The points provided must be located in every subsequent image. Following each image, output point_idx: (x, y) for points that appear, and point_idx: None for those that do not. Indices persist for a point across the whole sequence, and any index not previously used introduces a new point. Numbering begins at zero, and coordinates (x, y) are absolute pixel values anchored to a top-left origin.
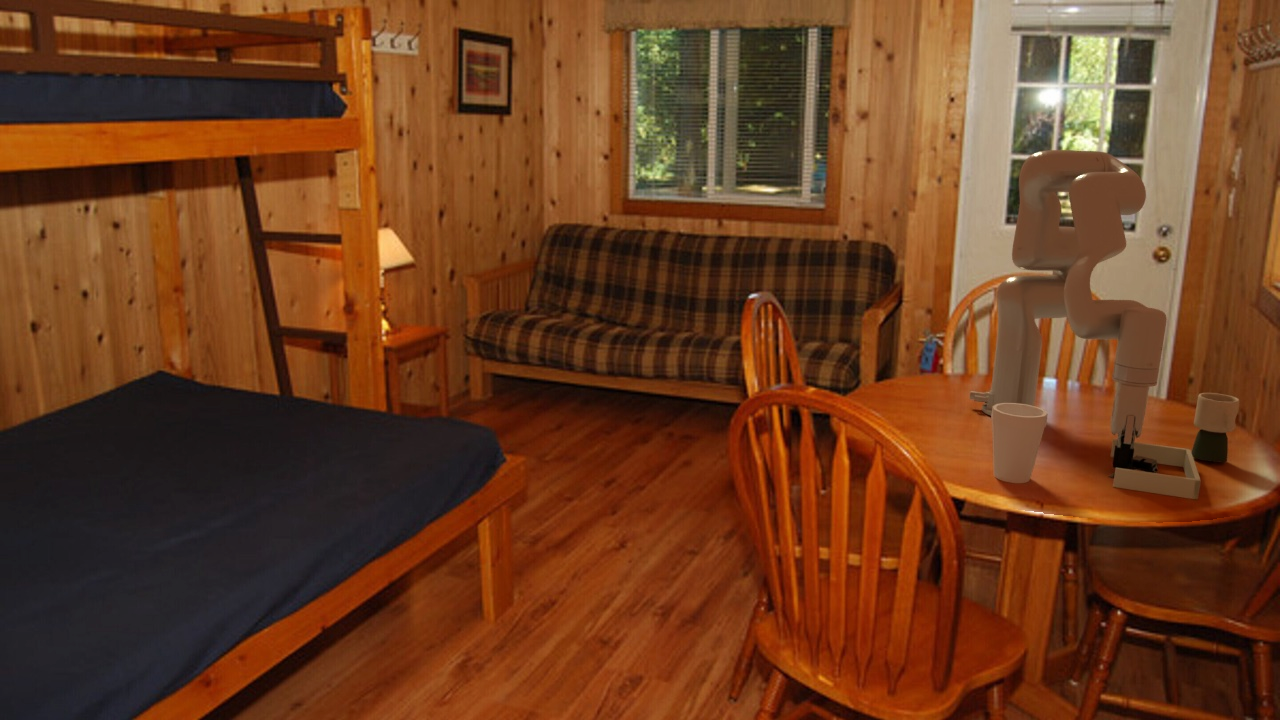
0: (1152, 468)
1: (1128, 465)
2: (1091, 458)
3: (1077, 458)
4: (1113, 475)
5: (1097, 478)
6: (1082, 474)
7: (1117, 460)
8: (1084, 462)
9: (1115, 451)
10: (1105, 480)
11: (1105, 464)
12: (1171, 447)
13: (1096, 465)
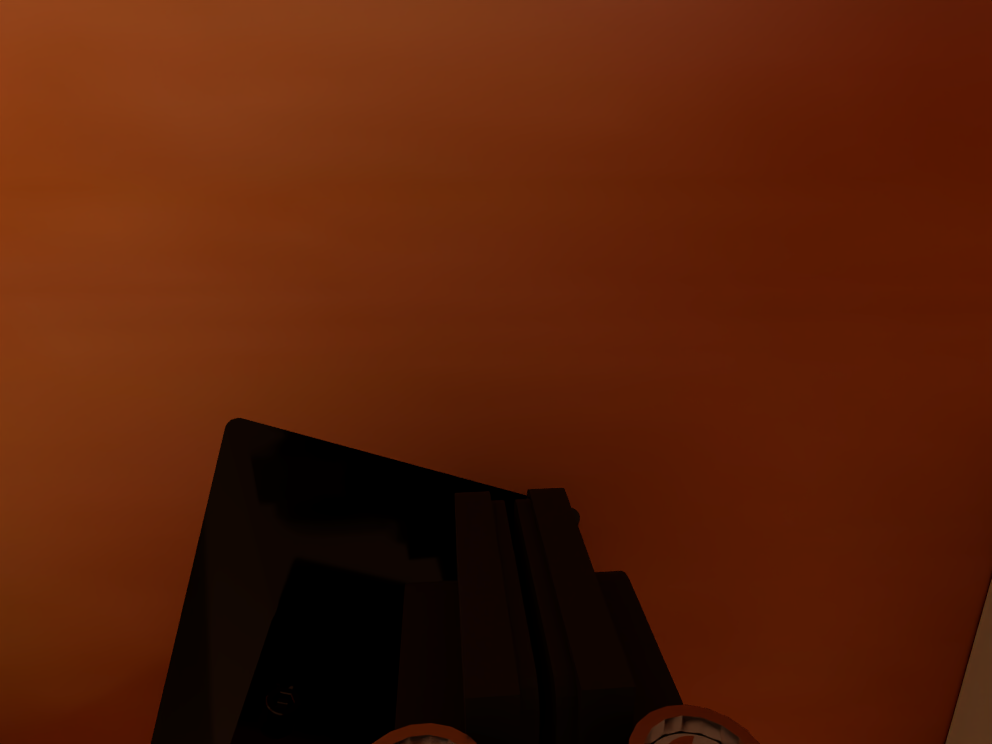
0: None
1: (272, 716)
2: (915, 220)
3: (858, 30)
4: (303, 477)
5: (68, 306)
6: (113, 108)
7: (454, 588)
8: (705, 131)
9: (466, 646)
10: (54, 398)
11: (723, 383)
12: None
13: (636, 285)
